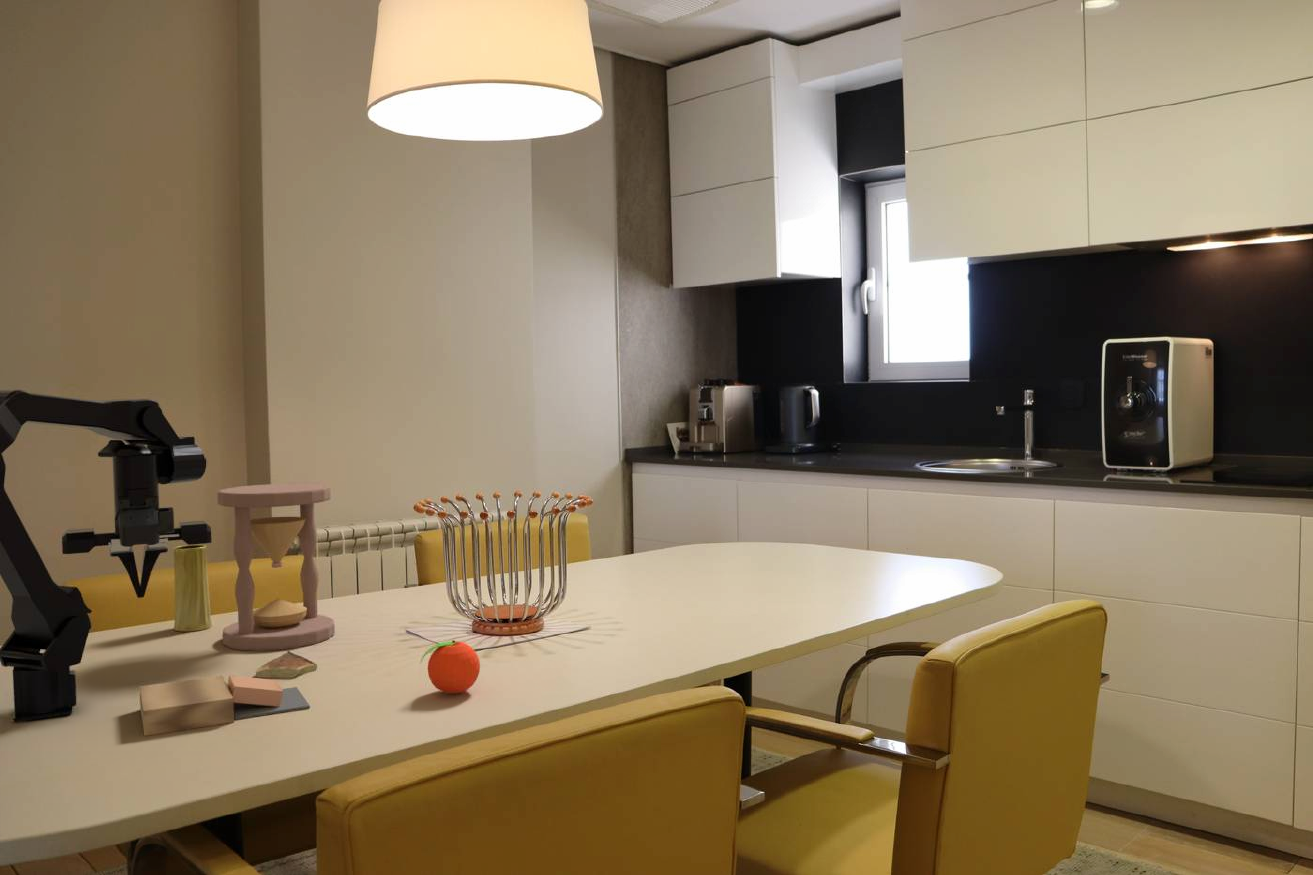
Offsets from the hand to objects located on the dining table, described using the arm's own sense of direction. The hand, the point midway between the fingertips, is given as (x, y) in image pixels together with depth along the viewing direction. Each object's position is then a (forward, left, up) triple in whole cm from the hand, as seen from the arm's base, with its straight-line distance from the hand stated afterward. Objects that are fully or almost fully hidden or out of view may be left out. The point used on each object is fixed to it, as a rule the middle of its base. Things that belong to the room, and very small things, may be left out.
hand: (140, 597), depth 150 cm
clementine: (+36, -29, -12) cm, 48 cm away
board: (+4, -21, -12) cm, 24 cm away
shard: (+18, -4, -13) cm, 22 cm away
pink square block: (+12, -21, -11) cm, 27 cm away
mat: (+14, -21, -12) cm, 28 cm away
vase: (+9, +33, -12) cm, 36 cm away
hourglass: (+21, +17, -12) cm, 30 cm away
